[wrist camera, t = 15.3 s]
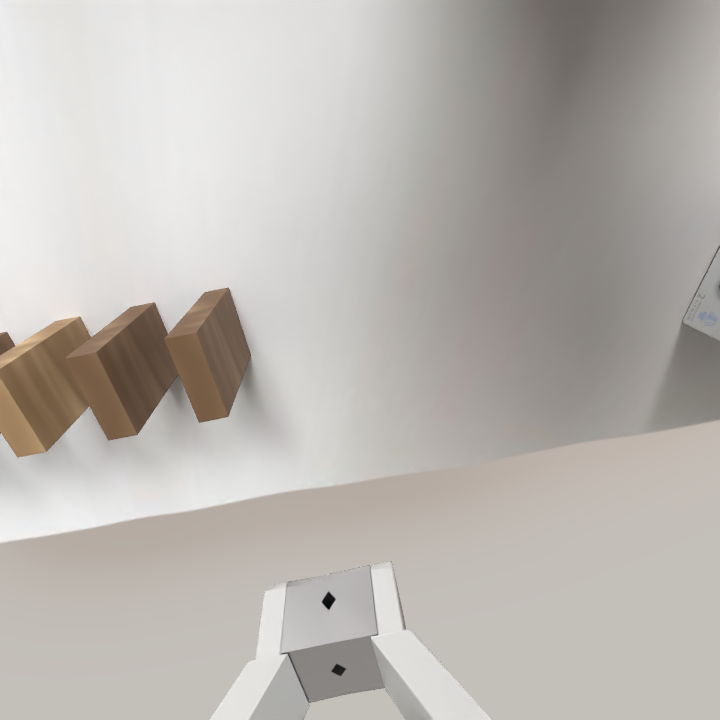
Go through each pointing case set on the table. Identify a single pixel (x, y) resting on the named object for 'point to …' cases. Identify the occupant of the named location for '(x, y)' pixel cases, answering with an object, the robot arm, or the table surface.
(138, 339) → the domino
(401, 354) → the table surface
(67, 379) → the domino
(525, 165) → the table surface
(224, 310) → the domino
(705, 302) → the light bulb box
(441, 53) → the table surface
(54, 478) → the table surface
